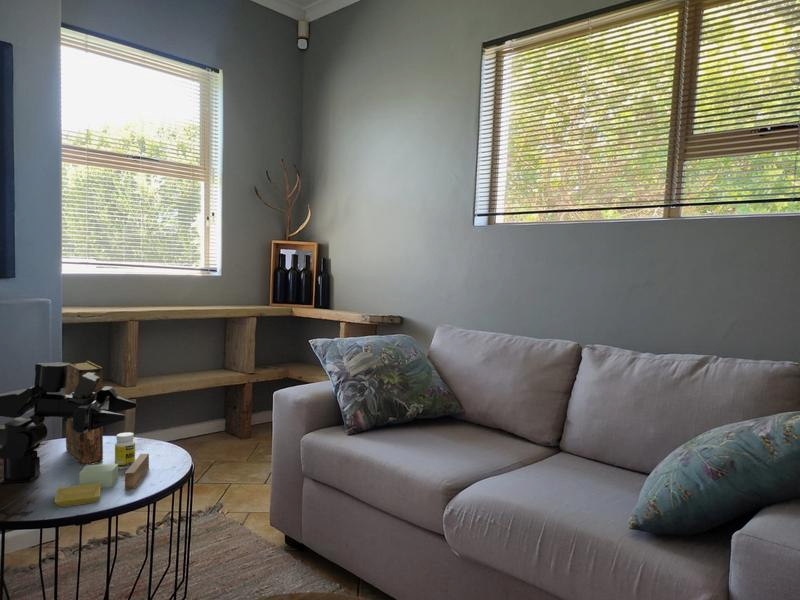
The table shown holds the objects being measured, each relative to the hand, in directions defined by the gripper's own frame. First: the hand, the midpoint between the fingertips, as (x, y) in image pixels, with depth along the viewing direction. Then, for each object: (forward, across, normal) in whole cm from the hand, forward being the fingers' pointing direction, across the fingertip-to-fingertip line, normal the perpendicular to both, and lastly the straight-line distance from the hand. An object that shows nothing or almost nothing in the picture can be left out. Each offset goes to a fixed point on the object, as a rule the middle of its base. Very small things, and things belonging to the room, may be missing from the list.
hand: (131, 411), depth 141 cm
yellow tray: (-5, -16, +16) cm, 23 cm away
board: (+4, -4, +15) cm, 17 cm away
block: (-4, -7, +16) cm, 18 cm away
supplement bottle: (-2, +5, +17) cm, 18 cm away
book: (-15, +15, +19) cm, 28 cm away
